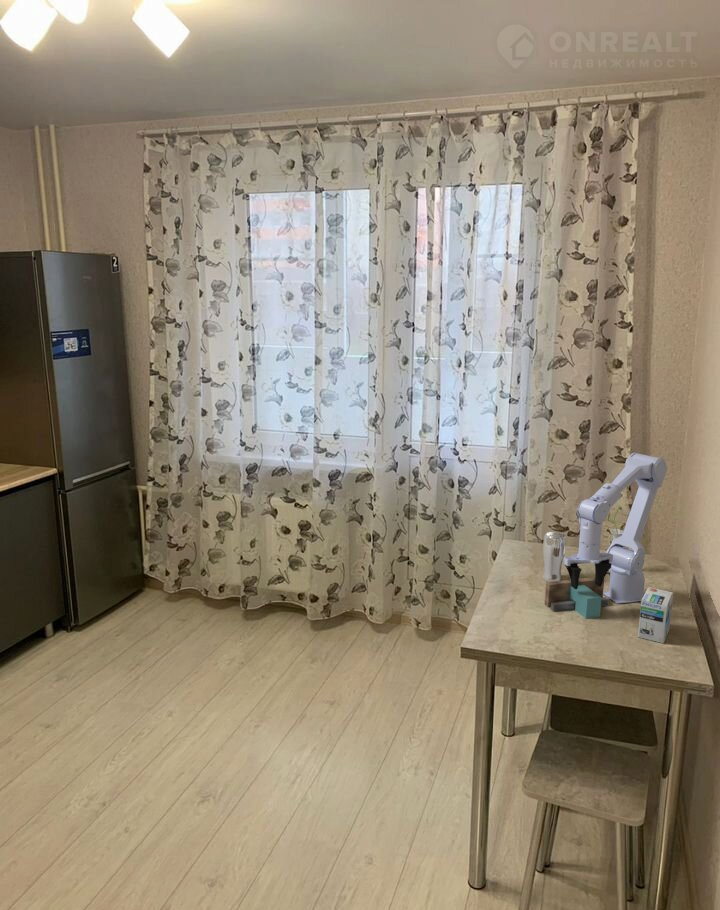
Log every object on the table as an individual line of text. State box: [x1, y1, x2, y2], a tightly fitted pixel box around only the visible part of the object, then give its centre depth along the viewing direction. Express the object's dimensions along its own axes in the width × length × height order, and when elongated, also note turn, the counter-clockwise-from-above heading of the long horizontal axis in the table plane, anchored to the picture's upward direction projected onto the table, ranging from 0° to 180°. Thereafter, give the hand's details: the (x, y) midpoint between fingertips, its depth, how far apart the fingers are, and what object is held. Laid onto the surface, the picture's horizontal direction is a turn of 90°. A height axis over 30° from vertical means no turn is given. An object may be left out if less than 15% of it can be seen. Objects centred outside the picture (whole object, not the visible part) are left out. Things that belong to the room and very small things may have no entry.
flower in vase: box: [607, 497, 631, 574], centre depth 227 cm, size 13×11×25 cm
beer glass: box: [541, 530, 567, 582], centre depth 220 cm, size 7×7×15 cm
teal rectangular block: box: [569, 585, 602, 619], centre depth 198 cm, size 4×9×6 cm, turn 15°
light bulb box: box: [637, 586, 674, 644], centre depth 185 cm, size 11×7×11 cm, turn 148°
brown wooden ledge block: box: [544, 576, 610, 613], centre depth 202 cm, size 18×5×7 cm, turn 104°
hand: (586, 586), depth 197 cm, fingers open, 7 cm apart
